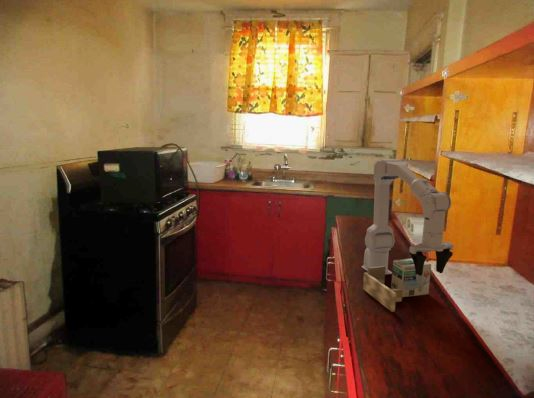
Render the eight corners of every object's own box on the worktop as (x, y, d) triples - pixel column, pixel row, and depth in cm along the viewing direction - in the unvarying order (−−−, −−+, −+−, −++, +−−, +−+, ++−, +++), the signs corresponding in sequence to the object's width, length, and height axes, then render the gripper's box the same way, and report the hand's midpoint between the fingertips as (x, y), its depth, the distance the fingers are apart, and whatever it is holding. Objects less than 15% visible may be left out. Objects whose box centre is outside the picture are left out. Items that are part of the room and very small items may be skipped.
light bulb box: (401, 297, 124) (404, 266, 122) (390, 289, 130) (392, 259, 128) (429, 294, 127) (432, 263, 125) (416, 286, 133) (419, 257, 131)
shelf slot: (363, 289, 130) (364, 267, 129) (381, 286, 132) (383, 265, 131) (391, 312, 114) (393, 287, 113) (412, 309, 116) (414, 284, 115)
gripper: (421, 236, 110) (417, 280, 113) (462, 233, 114) (457, 275, 117) (406, 230, 117) (403, 271, 119) (445, 227, 121) (441, 267, 123)
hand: (429, 273), depth 118 cm, fingers open, 7 cm apart
